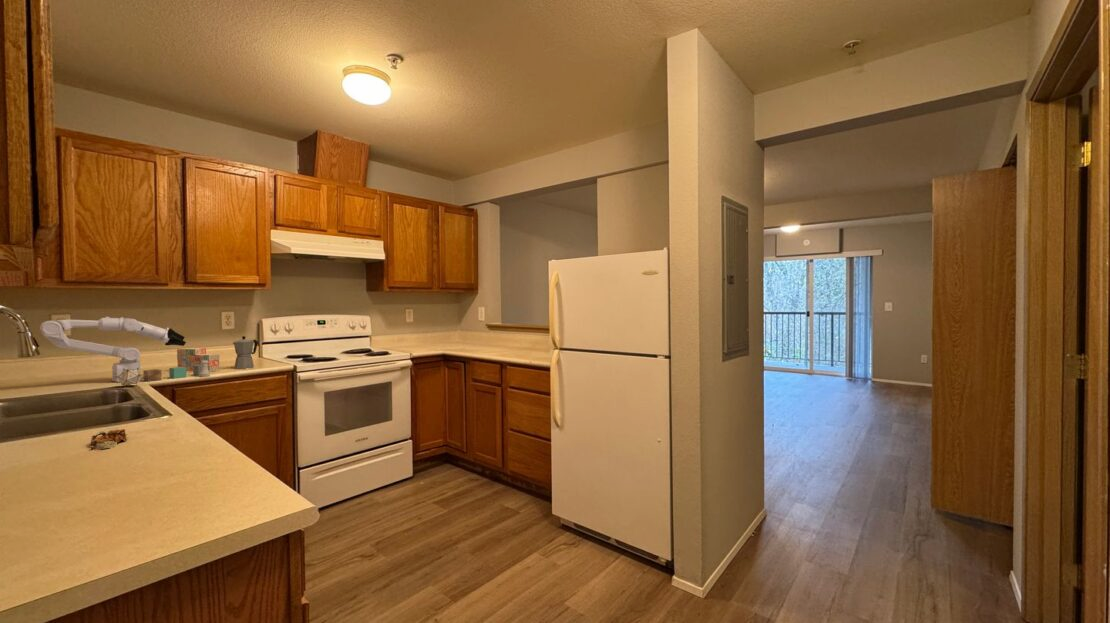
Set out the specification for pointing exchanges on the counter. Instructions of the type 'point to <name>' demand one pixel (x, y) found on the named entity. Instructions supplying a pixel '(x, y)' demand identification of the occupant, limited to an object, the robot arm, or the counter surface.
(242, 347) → the coffeepot
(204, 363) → the rook chess piece
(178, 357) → the stack of blocks
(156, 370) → the walnut block
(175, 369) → the muted green block
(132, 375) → the geometric wire lantern
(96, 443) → the pastry
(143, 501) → the counter surface
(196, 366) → the gray block
